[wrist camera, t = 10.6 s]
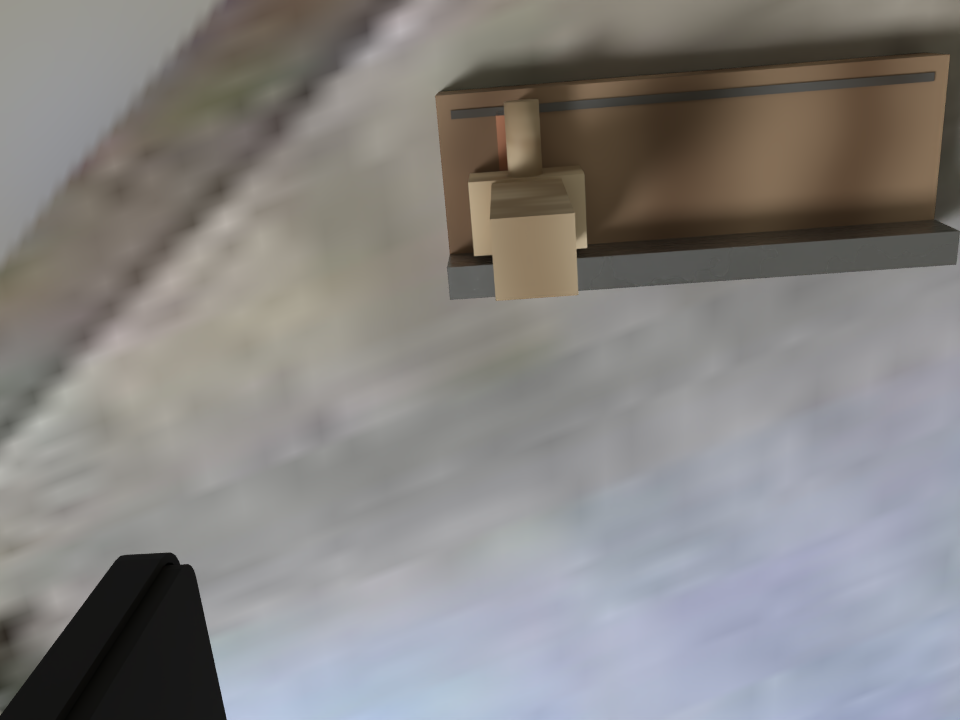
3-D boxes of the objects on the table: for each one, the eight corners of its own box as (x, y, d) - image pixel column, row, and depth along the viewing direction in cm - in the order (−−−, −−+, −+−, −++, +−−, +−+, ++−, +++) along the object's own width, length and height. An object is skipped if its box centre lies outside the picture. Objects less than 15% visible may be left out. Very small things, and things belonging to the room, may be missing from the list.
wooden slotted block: (924, 52, 33) (978, 56, 30) (908, 239, 36) (956, 264, 32) (438, 91, 34) (431, 100, 30) (455, 271, 37) (449, 299, 33)
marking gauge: (577, 93, 32) (600, 115, 24) (582, 235, 34) (606, 296, 26) (464, 102, 32) (453, 127, 25) (475, 243, 34) (468, 305, 26)
